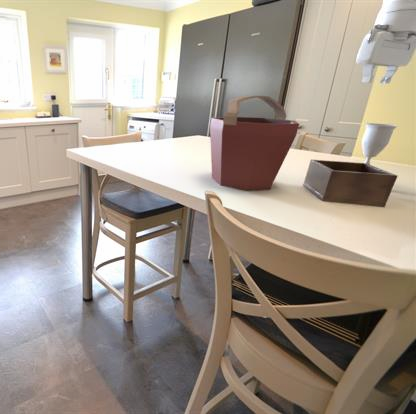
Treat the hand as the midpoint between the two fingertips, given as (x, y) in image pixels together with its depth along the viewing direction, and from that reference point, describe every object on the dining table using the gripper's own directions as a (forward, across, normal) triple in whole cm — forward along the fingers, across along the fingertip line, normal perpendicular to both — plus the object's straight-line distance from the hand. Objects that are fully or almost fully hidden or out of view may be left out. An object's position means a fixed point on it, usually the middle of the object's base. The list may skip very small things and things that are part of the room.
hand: (375, 83), depth 81 cm
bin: (+29, -18, -9) cm, 35 cm away
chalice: (+29, -2, -5) cm, 30 cm away
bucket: (+29, -34, +11) cm, 46 cm away
